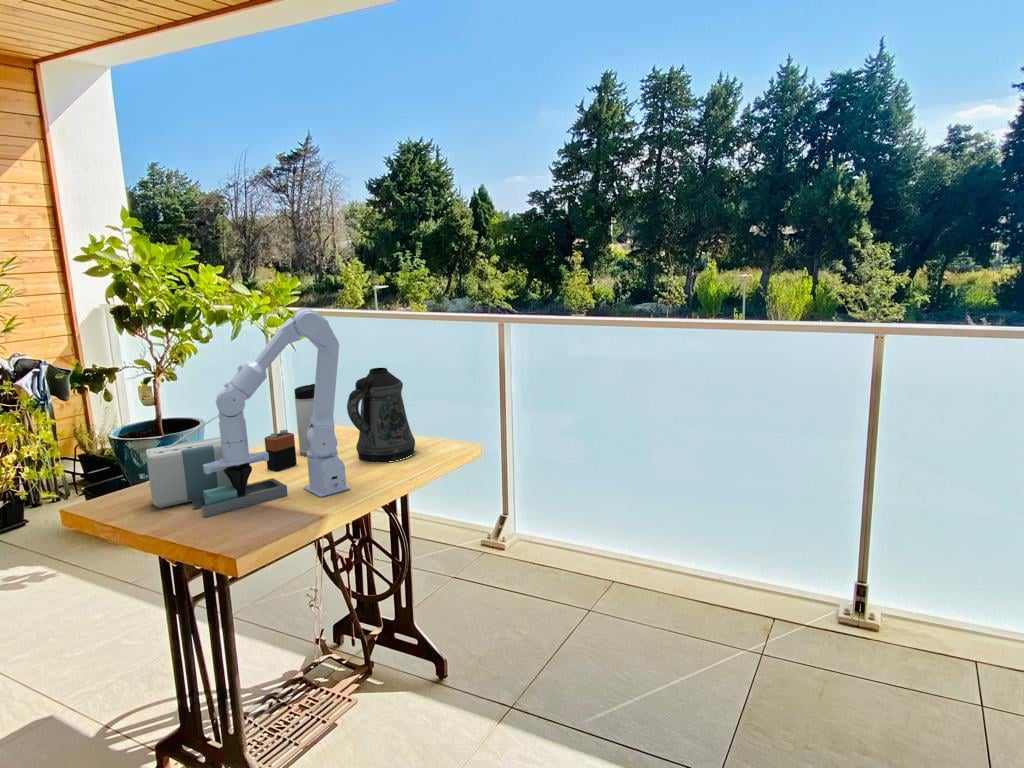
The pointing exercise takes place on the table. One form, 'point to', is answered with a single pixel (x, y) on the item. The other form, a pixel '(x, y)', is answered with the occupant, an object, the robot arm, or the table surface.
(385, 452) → the beer stein
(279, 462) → the battery
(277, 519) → the table surface
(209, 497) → the block
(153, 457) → the stereo radio cassette player
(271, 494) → the chute
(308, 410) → the travel mug
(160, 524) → the table surface
